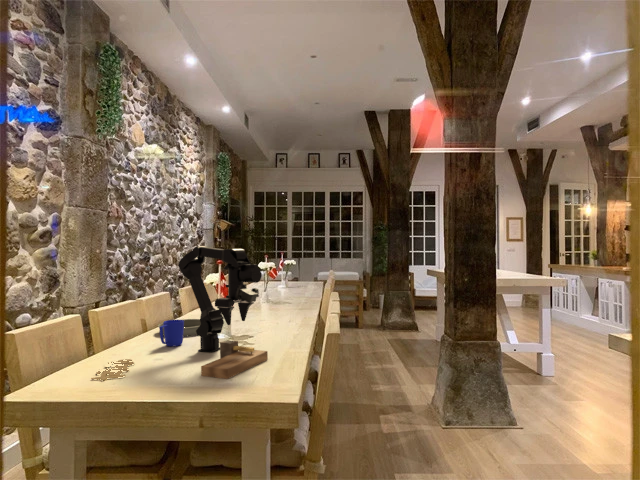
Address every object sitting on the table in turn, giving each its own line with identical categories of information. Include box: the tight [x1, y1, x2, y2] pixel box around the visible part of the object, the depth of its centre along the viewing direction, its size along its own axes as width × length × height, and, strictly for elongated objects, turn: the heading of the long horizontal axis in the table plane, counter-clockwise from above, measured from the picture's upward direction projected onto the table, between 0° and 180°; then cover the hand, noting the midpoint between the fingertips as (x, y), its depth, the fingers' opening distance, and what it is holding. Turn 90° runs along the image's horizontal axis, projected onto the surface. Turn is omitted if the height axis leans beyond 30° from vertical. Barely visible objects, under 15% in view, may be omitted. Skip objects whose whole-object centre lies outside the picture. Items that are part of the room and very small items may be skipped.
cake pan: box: [157, 318, 201, 337], centre depth 221 cm, size 25×25×4 cm
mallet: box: [219, 339, 255, 359], centre depth 164 cm, size 13×4×6 cm, turn 63°
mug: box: [158, 319, 184, 347], centre depth 190 cm, size 8×12×10 cm
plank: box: [200, 349, 269, 380], centre depth 156 cm, size 10×25×3 cm, turn 157°
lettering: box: [90, 358, 135, 381], centre depth 155 cm, size 25×10×1 cm, turn 12°
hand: (236, 322), depth 174 cm, fingers open, 9 cm apart
